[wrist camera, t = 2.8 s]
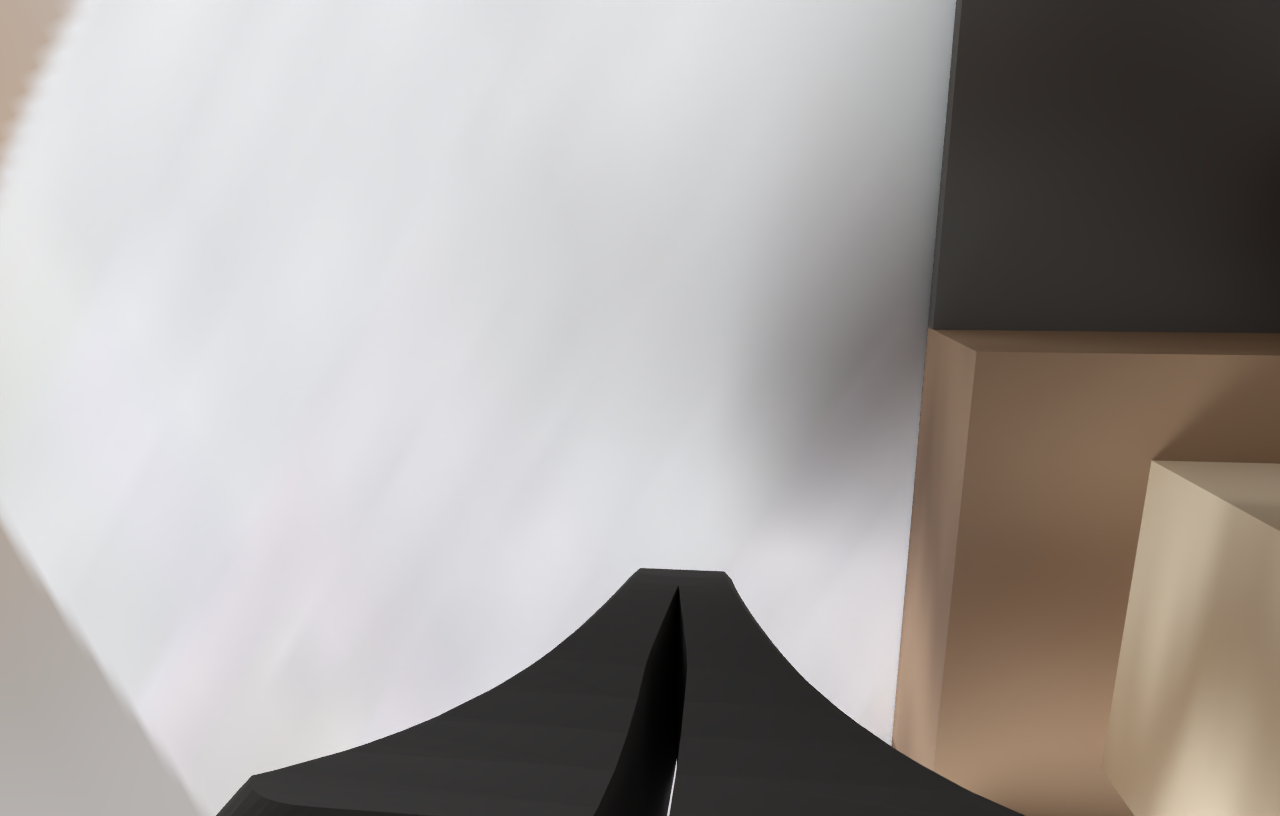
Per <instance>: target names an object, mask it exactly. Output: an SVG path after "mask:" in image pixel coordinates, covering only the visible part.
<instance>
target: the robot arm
mask: <svg viewBox="0 0 1280 816" xmlns="http://www.w3.org/2000/svg"><path fill="white" fill-rule="evenodd" d="M676 759H677V770H676V778H675V784H674V790H673V797H672V803H671V809H670V815H669V816H1025V815H1023V814H1021V813H1018V812H1016V811H1014V810H1012V809H1009V808H1007V807H1005V806H1002V805H1000V804H998V803H996V802H993V801H991V800H989V799H987V798H984V797H982V796H980V795H978V794H975V793H973V792H971V791H969V790H967V789H965V788H963V787H961V786H959V785H958V784H956V783H954V782H952V781H950V780H948V779H947V778H945V777H943V776H941V775H939V774H937V773H936V772H934V771H932V770H930V769H928V768H926V767H925V766H923V765H921V764H919V763H917V762H916V761H914V760H912V759H911V758H909V757H908V756H906V755H904V754H903V753H901V752H899V751H898V750H896V749H894V748H893V747H891V746H890V745H888V744H887V743H885V742H884V741H882V740H881V739H880V738H878V737H877V736H875V735H874V734H872V733H871V732H870V731H868V730H867V729H865V728H864V727H862V726H861V725H859V724H858V723H857V722H855V721H854V720H852V719H851V718H850V717H849V716H847V715H846V714H845V713H843V712H842V711H841V710H840V709H838V708H837V707H836V706H835V705H833V704H832V703H831V702H830V701H829V700H828V699H827V698H825V697H824V696H823V695H822V694H821V693H820V692H819V691H817V690H816V689H815V688H814V687H813V686H812V685H811V684H809V683H808V682H807V681H806V680H805V679H804V678H803V677H802V676H801V675H800V674H799V673H798V672H797V670H796V669H795V668H794V667H793V666H792V665H791V664H790V663H789V662H788V661H787V659H786V658H785V657H784V656H783V655H782V654H781V652H780V651H779V650H778V649H777V648H776V646H775V645H774V644H773V643H772V641H771V640H770V639H769V638H768V636H767V635H766V634H765V632H764V631H763V630H762V628H761V627H760V626H759V624H758V623H757V622H756V620H755V619H754V617H753V616H752V614H751V613H750V612H749V610H748V608H747V607H746V605H745V604H744V602H743V601H742V599H741V597H740V596H739V594H738V592H737V590H736V588H735V586H734V584H733V582H732V580H731V578H730V577H729V576H728V575H727V574H726V573H725V572H722V571H697V570H672V569H647V568H640V569H639V570H638V571H636V572H635V573H634V574H633V575H632V576H631V577H630V578H629V579H628V580H627V581H626V582H625V583H624V584H623V585H622V586H621V587H620V589H619V590H618V591H617V592H616V593H615V594H614V595H613V596H612V597H611V598H610V599H609V600H608V601H607V602H606V603H605V604H604V605H603V606H602V607H601V608H600V609H599V610H598V611H597V612H596V613H595V614H593V615H592V616H591V617H590V618H589V619H588V620H587V621H586V622H585V623H584V624H583V625H582V626H581V627H580V628H579V629H577V630H576V631H575V632H574V633H573V634H571V635H570V636H569V637H568V638H566V639H565V640H564V641H563V642H562V643H560V644H559V645H558V646H557V647H555V648H554V649H553V650H552V651H550V652H549V653H548V654H546V655H545V656H544V657H542V658H541V659H539V660H538V661H536V662H535V663H534V664H532V665H531V666H529V667H528V668H526V669H524V670H523V671H521V672H520V673H518V674H516V675H515V676H513V677H512V678H510V679H508V680H507V681H505V682H504V683H502V684H500V685H498V686H497V687H495V688H493V689H491V690H490V691H487V692H485V693H483V694H481V695H479V696H477V697H475V698H473V699H471V700H469V701H467V702H465V703H463V704H461V705H459V706H457V707H455V708H453V709H451V710H449V711H447V712H445V713H443V714H441V715H439V716H437V717H435V718H433V719H430V720H428V721H425V722H423V723H421V724H418V725H416V726H413V727H411V728H408V729H406V730H403V731H401V732H398V733H395V734H393V735H390V736H387V737H384V738H382V739H379V740H376V741H373V742H370V743H368V744H365V745H362V746H359V747H356V748H352V749H349V750H346V751H343V752H340V753H336V754H332V755H329V756H325V757H321V758H318V759H314V760H311V761H307V762H303V763H300V764H296V765H292V766H289V767H285V768H282V769H278V770H274V771H270V772H266V773H262V774H257V775H253V776H251V777H250V778H249V780H248V781H247V782H246V783H245V784H244V785H243V786H242V787H241V788H240V789H239V790H238V791H237V793H236V794H235V795H234V796H233V797H232V798H231V799H230V801H229V802H228V803H227V804H226V805H225V806H224V807H223V808H222V810H221V811H220V812H219V813H218V814H217V815H216V816H667V812H668V806H669V800H670V794H671V789H672V783H673V777H674V771H675V765H676Z"/></svg>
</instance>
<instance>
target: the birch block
mask: <svg viewBox="0 0 1280 816" xmlns="http://www.w3.org/2000/svg"><path fill="white" fill-rule="evenodd" d="M1101 769H1102V770H1103V772H1104V773H1105V775H1106V776H1107V778H1108V779H1109V780H1110V782H1111V783H1112V785H1113V786H1114V788H1115V789H1116V790H1117V792H1118V793H1119V795H1120V796H1121V798H1122V799H1123V800H1124V802H1125V803H1126V805H1127V806H1128V808H1129V809H1130V810H1131V812H1132V813H1133V815H1134V816H1280V464H1273V463H1234V462H1194V461H1155V460H1151V466H1150V472H1149V478H1148V485H1147V491H1146V497H1145V503H1144V509H1143V515H1142V521H1141V527H1140V533H1139V540H1138V546H1137V552H1136V558H1135V564H1134V570H1133V576H1132V582H1131V588H1130V594H1129V601H1128V607H1127V613H1126V619H1125V625H1124V631H1123V637H1122V643H1121V649H1120V656H1119V662H1118V668H1117V674H1116V680H1115V686H1114V692H1113V698H1112V704H1111V710H1110V717H1109V723H1108V729H1107V735H1106V741H1105V747H1104V753H1103V759H1102V765H1101Z"/></svg>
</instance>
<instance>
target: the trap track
mask: <svg viewBox="0 0 1280 816" xmlns="http://www.w3.org/2000/svg"><path fill="white" fill-rule="evenodd" d="M1151 460H1155V461H1194V462H1234V463H1273V464H1280V0H957V1H956V13H955V24H954V36H953V47H952V59H951V70H950V82H949V93H948V104H947V116H946V127H945V139H944V150H943V162H942V173H941V185H940V196H939V208H938V219H937V231H936V242H935V254H934V265H933V277H932V288H931V300H930V311H929V322H928V334H927V345H926V357H925V368H924V380H923V391H922V403H921V414H920V426H919V437H918V449H917V460H916V472H915V483H914V495H913V506H912V517H911V529H910V540H909V552H908V563H907V575H906V586H905V598H904V609H903V621H902V632H901V644H900V655H899V667H898V678H897V690H896V701H895V713H894V724H893V735H892V747H893V748H894V749H896V750H898V751H899V752H901V753H903V754H904V755H906V756H908V757H909V758H911V759H912V760H914V761H916V762H917V763H919V764H921V765H923V766H925V767H926V768H928V769H930V770H932V771H934V772H936V773H937V774H939V775H941V776H943V777H945V778H947V779H948V780H950V781H952V782H954V783H956V784H958V785H959V786H961V787H963V788H965V789H967V790H969V791H971V792H973V793H975V794H978V795H980V796H982V797H984V798H987V799H989V800H991V801H993V802H996V803H998V804H1000V805H1002V806H1005V807H1007V808H1009V809H1012V810H1014V811H1016V812H1018V813H1021V814H1023V815H1025V816H1134V815H1133V813H1132V812H1131V810H1130V809H1129V808H1128V806H1127V805H1126V803H1125V802H1124V800H1123V799H1122V798H1121V796H1120V795H1119V793H1118V792H1117V790H1116V789H1115V788H1114V786H1113V785H1112V783H1111V782H1110V780H1109V779H1108V778H1107V776H1106V775H1105V773H1104V772H1103V770H1102V769H1101V765H1102V759H1103V753H1104V747H1105V741H1106V735H1107V729H1108V723H1109V717H1110V710H1111V704H1112V698H1113V692H1114V686H1115V680H1116V674H1117V668H1118V662H1119V656H1120V649H1121V643H1122V637H1123V631H1124V625H1125V619H1126V613H1127V607H1128V601H1129V594H1130V588H1131V582H1132V576H1133V570H1134V564H1135V558H1136V552H1137V546H1138V540H1139V533H1140V527H1141V521H1142V515H1143V509H1144V503H1145V497H1146V491H1147V485H1148V478H1149V472H1150V466H1151Z"/></svg>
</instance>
